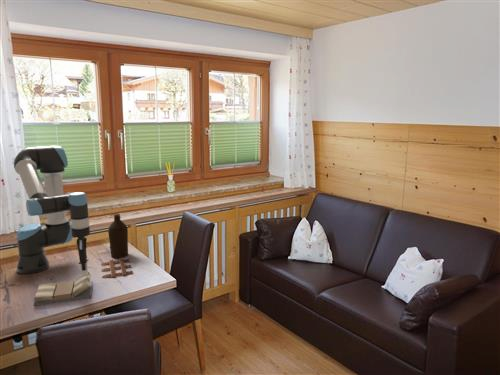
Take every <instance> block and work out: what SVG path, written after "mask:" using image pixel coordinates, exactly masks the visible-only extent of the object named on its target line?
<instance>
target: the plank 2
mask: <svg viewBox="0 0 500 375" xmlns="http://www.w3.org/2000/svg"><path fill="white" fill-rule="evenodd" d="M91 276H92V275H91V274H90V272H89V271H88V276H85V277H82V276H79V277H78V278H76V279H75V280H74V288H73V292H72V293H73V294H74V295H75V296H76V295H78V294H79V293H81V292H82V291H84V290H85V289H87V288H88V287H89V285H90V282H91Z"/></svg>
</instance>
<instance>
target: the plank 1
mask: <svg viewBox="0 0 500 375" xmlns="http://www.w3.org/2000/svg"><path fill="white" fill-rule="evenodd" d="M57 284H58V282H51V283H40V284H39V286H38V288H37V290H36V293H35V296H34V299H33V300H34V301H35V302H37V301H47V300H53V297H54V293H55V290H56V287H57Z"/></svg>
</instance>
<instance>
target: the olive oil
mask: <svg viewBox="0 0 500 375" xmlns="http://www.w3.org/2000/svg"><path fill="white" fill-rule="evenodd" d="M107 232H108V239H109V240H108V241H109V249H110V256H111V257H112V258H114V259H122V258H126V257H127V256H128V255H129V240H128V239H129V238H128V236H129V235H128V234H129V229H128V226H127V224H126V223H124V222H123V221H122V220H121V213H119V212H117V213H114V214H113V222H111V224H110V225H109V226H108V231H107Z"/></svg>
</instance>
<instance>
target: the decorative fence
mask: <svg viewBox="0 0 500 375" xmlns="http://www.w3.org/2000/svg"><path fill="white" fill-rule="evenodd" d="M125 263H131V262H130V259H129V258H128V259H124V257H122V258H118V260H114V259H109V261H106V262H102V263H100V266H101V267H102V266H103V267H104V266H109V267H106V268H103V269H101V272H103V273H105V272H110V273H109V274H108V273H107V274H103V275H102V276H101V278H102V279H110V277H111V278H116V276H117V277H123V276H128V275H134V272H133V270H130V271H129V270H128V271H127V269H132V264H127V265H125ZM118 264H119V266H115V265H118ZM119 270H121V272H116V271H119Z"/></svg>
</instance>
